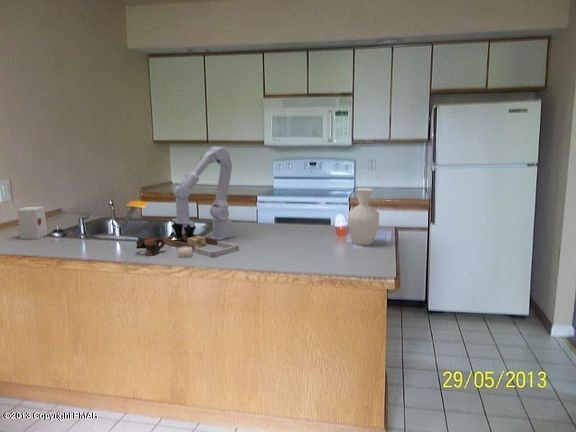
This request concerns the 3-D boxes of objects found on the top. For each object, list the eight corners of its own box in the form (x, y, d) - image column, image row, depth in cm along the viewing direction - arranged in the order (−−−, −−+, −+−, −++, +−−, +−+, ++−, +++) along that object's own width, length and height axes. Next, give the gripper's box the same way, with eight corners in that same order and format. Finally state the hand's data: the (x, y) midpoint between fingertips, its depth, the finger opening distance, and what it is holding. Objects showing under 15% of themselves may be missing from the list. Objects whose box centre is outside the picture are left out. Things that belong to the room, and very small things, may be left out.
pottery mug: (140, 259, 191) (133, 241, 192) (141, 262, 200) (135, 245, 201) (168, 248, 195) (161, 231, 196) (168, 252, 204) (161, 236, 205)
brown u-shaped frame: (187, 237, 224) (186, 232, 224) (217, 244, 210) (217, 239, 209) (162, 243, 214) (161, 238, 213) (192, 251, 199) (191, 246, 199)
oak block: (197, 244, 212) (196, 235, 212) (205, 246, 209) (205, 237, 208) (187, 246, 208) (187, 238, 207) (196, 248, 205) (195, 240, 204)
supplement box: (38, 239, 224) (34, 209, 221) (20, 239, 224) (16, 209, 221) (48, 234, 233) (44, 206, 230) (30, 234, 233) (27, 206, 230)
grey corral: (220, 245, 209) (220, 241, 208) (238, 249, 201) (238, 245, 201) (195, 252, 198) (194, 247, 198) (213, 257, 190) (213, 252, 190)
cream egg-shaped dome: (186, 253, 197) (186, 245, 197) (195, 255, 193) (195, 247, 193) (175, 256, 193) (174, 248, 192) (184, 259, 189) (183, 250, 188)
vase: (342, 245, 207) (343, 190, 202) (353, 237, 219) (354, 186, 214) (373, 248, 201) (374, 192, 195) (382, 241, 213) (384, 188, 208)
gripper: (166, 210, 213) (168, 239, 216) (185, 214, 204) (186, 244, 206) (178, 208, 218) (180, 236, 221) (197, 212, 209) (199, 240, 212)
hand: (184, 239), depth 214 cm, fingers open, 7 cm apart
